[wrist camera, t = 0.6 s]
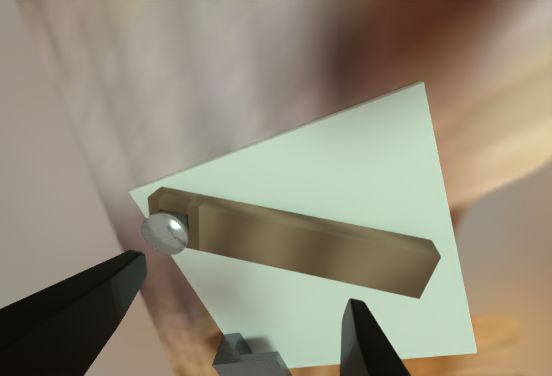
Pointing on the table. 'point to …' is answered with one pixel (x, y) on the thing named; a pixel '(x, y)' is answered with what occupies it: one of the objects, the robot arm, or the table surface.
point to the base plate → (333, 206)
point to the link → (303, 242)
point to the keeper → (246, 359)
